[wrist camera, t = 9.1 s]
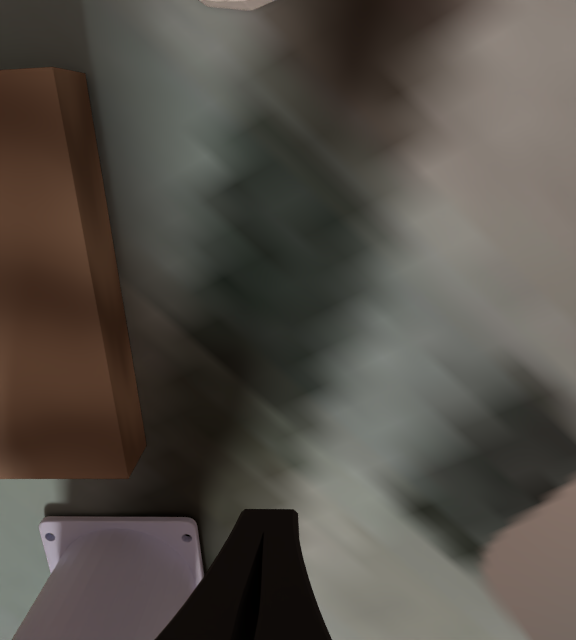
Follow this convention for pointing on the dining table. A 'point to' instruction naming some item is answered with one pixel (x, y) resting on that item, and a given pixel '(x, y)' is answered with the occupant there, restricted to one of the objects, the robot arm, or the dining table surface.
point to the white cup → (236, 4)
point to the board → (60, 292)
